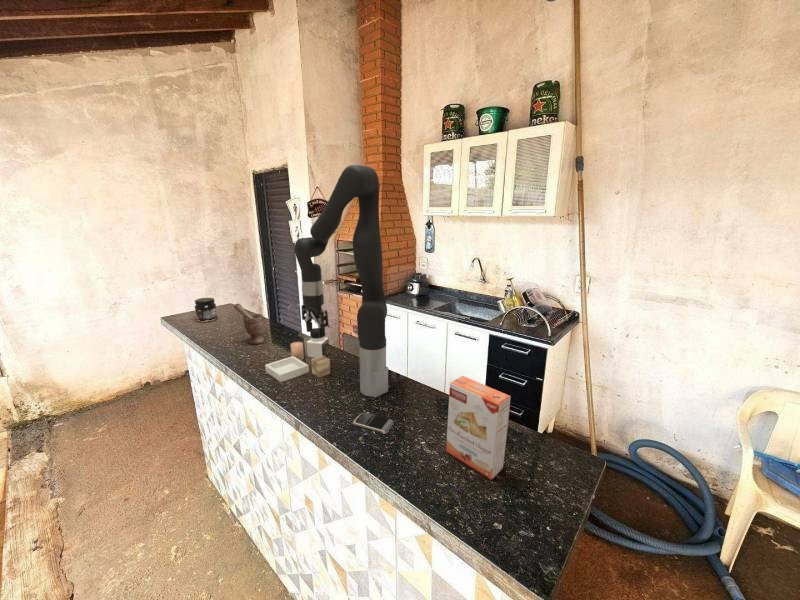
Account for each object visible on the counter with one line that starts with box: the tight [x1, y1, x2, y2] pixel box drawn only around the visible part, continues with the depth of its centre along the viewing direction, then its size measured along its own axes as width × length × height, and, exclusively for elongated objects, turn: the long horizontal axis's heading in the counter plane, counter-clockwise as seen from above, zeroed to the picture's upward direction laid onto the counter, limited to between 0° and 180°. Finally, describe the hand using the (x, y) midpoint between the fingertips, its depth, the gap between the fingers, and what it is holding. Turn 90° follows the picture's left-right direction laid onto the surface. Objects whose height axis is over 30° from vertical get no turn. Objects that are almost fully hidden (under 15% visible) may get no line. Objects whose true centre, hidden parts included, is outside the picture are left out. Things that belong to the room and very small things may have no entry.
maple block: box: [311, 356, 331, 379], centre depth 134 cm, size 5×5×6 cm
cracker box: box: [445, 375, 511, 481], centre depth 86 cm, size 14×6×21 cm, turn 45°
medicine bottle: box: [306, 327, 330, 359], centre depth 151 cm, size 7×7×12 cm
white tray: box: [264, 356, 310, 383], centre depth 135 cm, size 12×12×3 cm
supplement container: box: [194, 297, 218, 321], centre depth 195 cm, size 10×10×12 cm
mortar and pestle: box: [233, 303, 266, 345], centre depth 161 cm, size 12×9×20 cm
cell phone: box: [353, 412, 394, 434], centre depth 104 cm, size 6×11×1 cm, turn 67°
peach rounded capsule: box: [290, 341, 305, 362], centre depth 146 cm, size 5×5×7 cm
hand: (315, 334), depth 131 cm, fingers open, 8 cm apart
